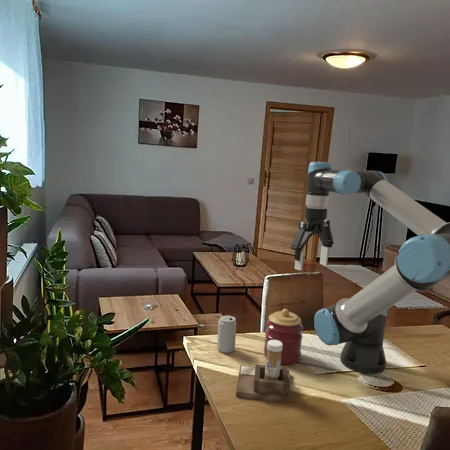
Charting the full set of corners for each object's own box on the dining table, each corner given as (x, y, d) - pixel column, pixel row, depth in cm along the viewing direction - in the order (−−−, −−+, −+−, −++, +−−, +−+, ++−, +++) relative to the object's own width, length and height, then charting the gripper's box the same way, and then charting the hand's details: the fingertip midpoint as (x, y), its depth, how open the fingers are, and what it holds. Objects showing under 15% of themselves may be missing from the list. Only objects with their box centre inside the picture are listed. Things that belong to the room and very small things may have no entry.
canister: (304, 366, 145) (309, 316, 142) (266, 365, 144) (270, 315, 141) (295, 348, 158) (299, 303, 155) (260, 347, 157) (264, 302, 154)
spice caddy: (288, 374, 139) (290, 360, 138) (291, 402, 123) (292, 386, 122) (239, 369, 140) (240, 355, 140) (235, 396, 125) (236, 380, 124)
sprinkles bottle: (260, 383, 129) (264, 342, 127) (269, 378, 133) (273, 337, 130) (273, 390, 126) (277, 347, 124) (281, 384, 130) (285, 342, 128)
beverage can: (233, 355, 150) (234, 322, 148) (215, 352, 151) (216, 320, 149) (236, 347, 156) (238, 316, 154) (219, 344, 157) (220, 313, 155)
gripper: (330, 204, 158) (324, 260, 161) (283, 207, 142) (278, 269, 146) (347, 207, 152) (341, 265, 156) (300, 210, 136) (295, 274, 140)
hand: (311, 267), depth 151 cm, fingers open, 13 cm apart
